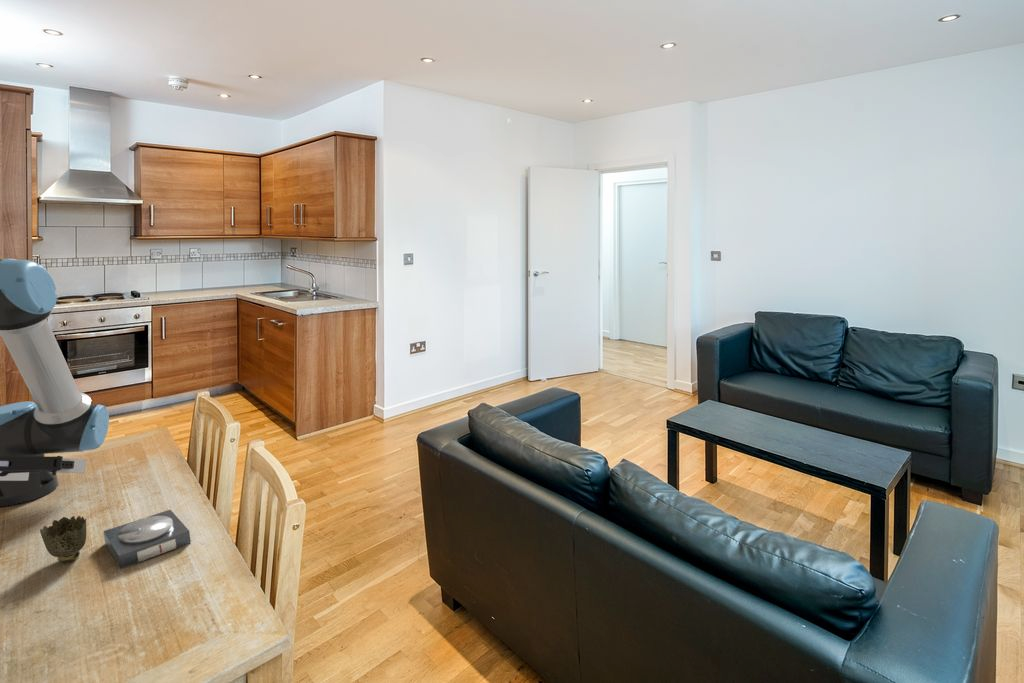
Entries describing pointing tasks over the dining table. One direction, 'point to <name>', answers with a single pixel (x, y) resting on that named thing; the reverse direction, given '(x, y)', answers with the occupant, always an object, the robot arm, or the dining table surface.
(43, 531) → the cup
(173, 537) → the kitchen scale
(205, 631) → the dining table surface
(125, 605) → the dining table surface
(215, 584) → the dining table surface
